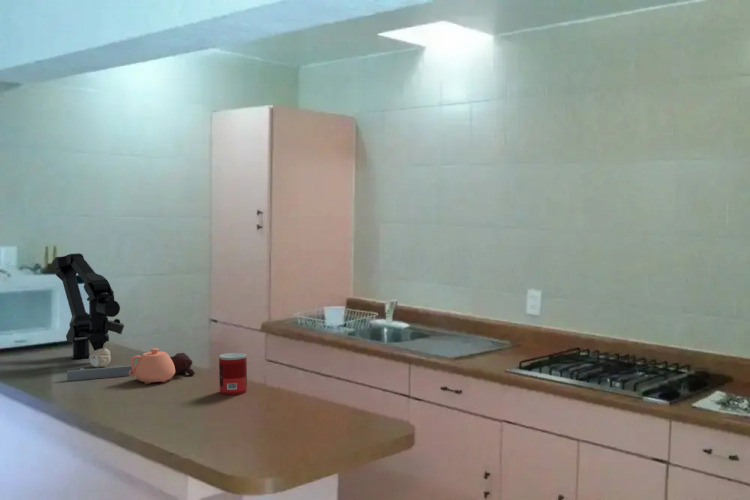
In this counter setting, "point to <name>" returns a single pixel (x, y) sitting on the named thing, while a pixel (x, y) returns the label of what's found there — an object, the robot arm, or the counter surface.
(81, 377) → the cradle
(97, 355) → the garlic bulb
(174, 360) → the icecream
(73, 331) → the robot arm
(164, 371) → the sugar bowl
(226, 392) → the canned food
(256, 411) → the counter surface
